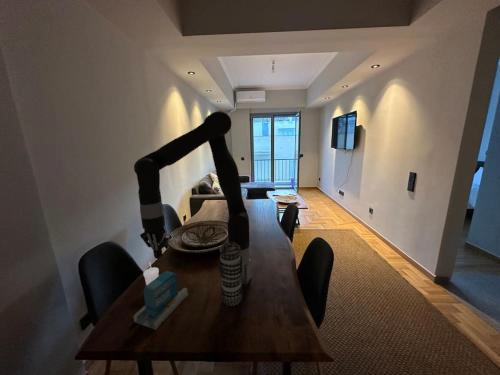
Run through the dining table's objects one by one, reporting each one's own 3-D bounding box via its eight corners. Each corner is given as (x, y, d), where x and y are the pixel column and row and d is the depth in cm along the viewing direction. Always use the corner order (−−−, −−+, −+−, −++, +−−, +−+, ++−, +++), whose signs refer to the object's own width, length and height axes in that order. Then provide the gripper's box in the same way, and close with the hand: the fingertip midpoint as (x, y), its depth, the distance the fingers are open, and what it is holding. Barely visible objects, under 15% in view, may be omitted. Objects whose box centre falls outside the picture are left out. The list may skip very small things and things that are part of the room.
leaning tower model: (246, 306, 82) (244, 248, 76) (223, 311, 79) (219, 252, 74) (240, 290, 90) (238, 237, 85) (219, 295, 88) (216, 241, 82)
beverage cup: (162, 283, 95) (159, 256, 92) (159, 293, 89) (155, 264, 86) (148, 285, 94) (144, 258, 91) (144, 295, 88) (139, 266, 85)
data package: (155, 319, 75) (151, 291, 72) (146, 316, 76) (142, 288, 74) (178, 297, 85) (176, 271, 83) (170, 294, 87) (167, 269, 85)
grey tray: (188, 295, 88) (187, 287, 87) (155, 331, 71) (154, 322, 70) (169, 290, 91) (168, 282, 90) (134, 323, 75) (132, 314, 74)
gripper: (174, 212, 75) (179, 255, 79) (146, 209, 80) (152, 250, 83) (159, 219, 68) (165, 266, 72) (129, 215, 73) (136, 260, 76)
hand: (158, 257), depth 78 cm, fingers closed
